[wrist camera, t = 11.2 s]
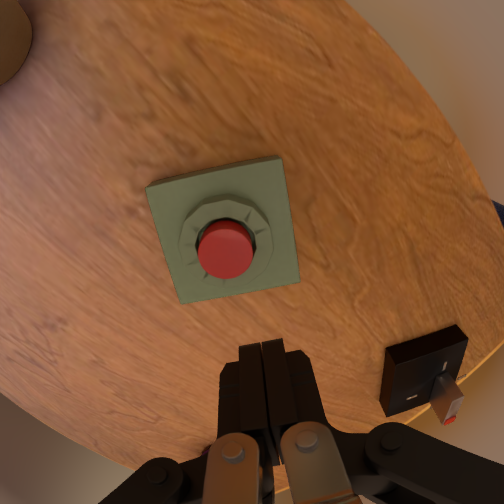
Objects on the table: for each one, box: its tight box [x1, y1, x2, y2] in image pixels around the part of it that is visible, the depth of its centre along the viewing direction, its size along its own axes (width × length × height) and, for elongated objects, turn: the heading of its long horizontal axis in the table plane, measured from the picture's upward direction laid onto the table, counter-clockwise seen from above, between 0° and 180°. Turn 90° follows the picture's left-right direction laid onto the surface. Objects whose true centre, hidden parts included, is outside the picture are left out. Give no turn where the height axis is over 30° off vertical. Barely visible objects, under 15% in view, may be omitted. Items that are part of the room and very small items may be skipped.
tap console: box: [379, 325, 468, 417], centre depth 33 cm, size 12×12×3 cm
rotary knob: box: [429, 372, 464, 425], centre depth 30 cm, size 5×2×5 cm, turn 11°
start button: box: [198, 220, 253, 279], centre depth 22 cm, size 4×4×2 cm
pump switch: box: [145, 155, 301, 304], centre depth 24 cm, size 10×10×4 cm
